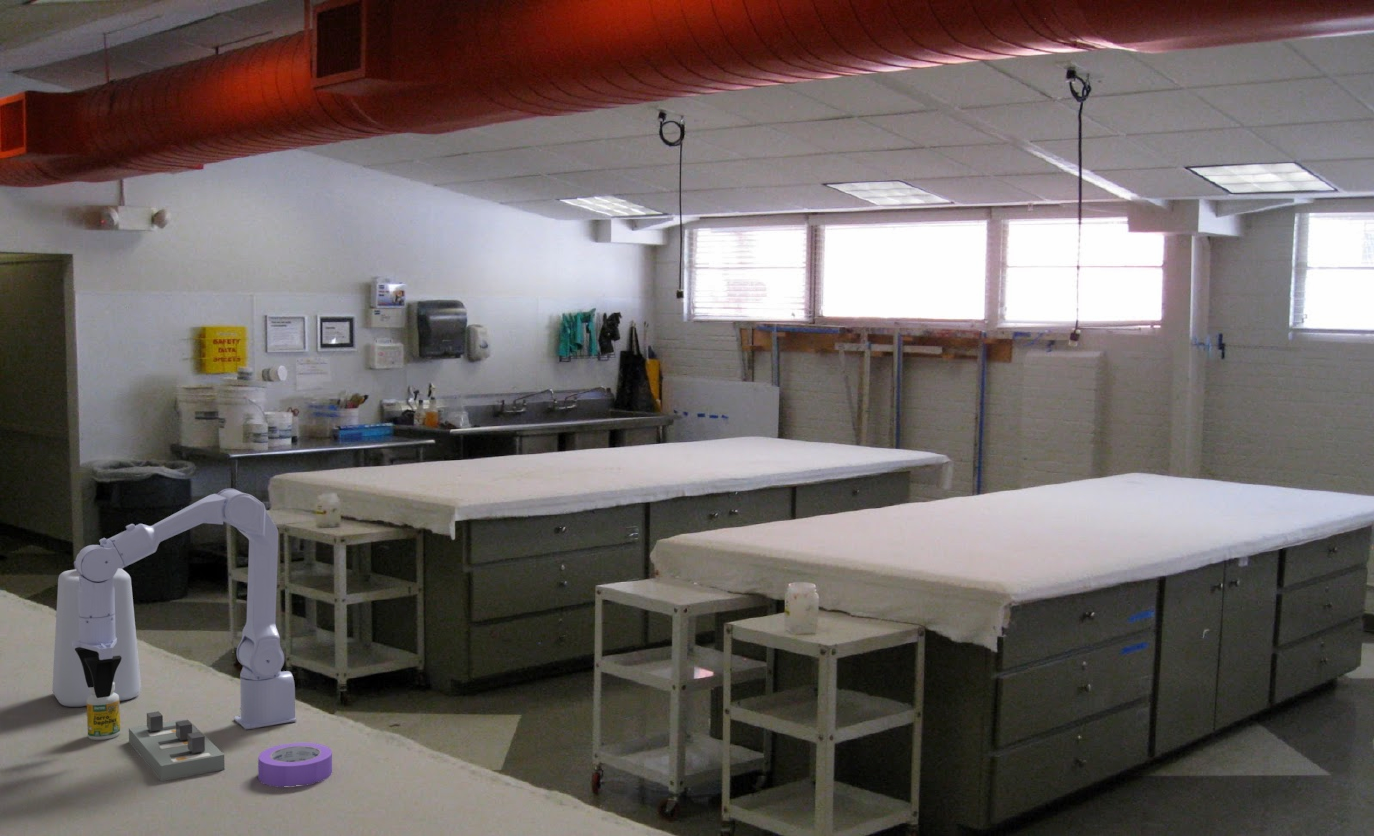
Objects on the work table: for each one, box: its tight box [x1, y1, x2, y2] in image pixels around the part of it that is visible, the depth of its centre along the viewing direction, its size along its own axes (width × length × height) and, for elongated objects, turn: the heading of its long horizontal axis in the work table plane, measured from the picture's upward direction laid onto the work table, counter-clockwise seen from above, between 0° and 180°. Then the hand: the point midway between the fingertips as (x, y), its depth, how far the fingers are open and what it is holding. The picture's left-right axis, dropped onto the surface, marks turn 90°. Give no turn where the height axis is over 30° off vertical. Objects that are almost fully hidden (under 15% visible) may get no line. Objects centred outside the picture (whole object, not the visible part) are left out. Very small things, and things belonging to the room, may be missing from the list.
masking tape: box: [257, 742, 333, 788], centre depth 210 cm, size 12×12×4 cm
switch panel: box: [128, 718, 226, 782], centre depth 219 cm, size 10×24×3 cm, turn 35°
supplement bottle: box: [86, 682, 121, 741], centre depth 229 cm, size 5×5×10 cm
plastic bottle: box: [52, 568, 142, 708], centre depth 253 cm, size 15×15×28 cm
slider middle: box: [176, 719, 193, 740], centre depth 220 cm, size 2×3×2 cm, turn 35°
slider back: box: [146, 710, 164, 731], centre depth 224 cm, size 2×3×2 cm, turn 35°
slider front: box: [188, 731, 206, 753], centre depth 213 cm, size 2×3×2 cm, turn 35°
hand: (98, 691), depth 221 cm, fingers open, 7 cm apart
